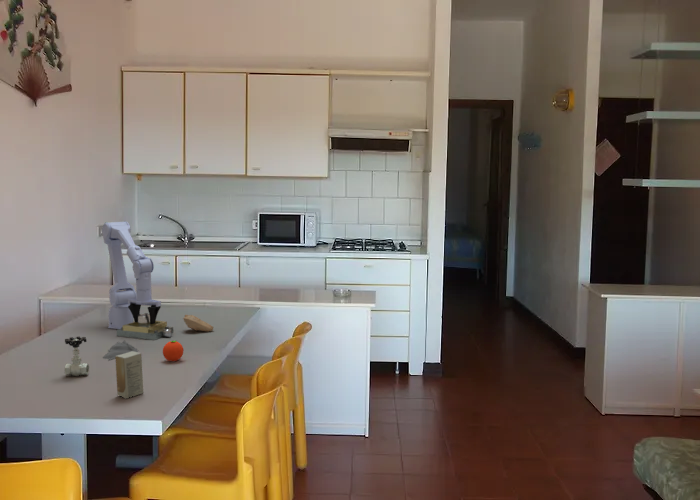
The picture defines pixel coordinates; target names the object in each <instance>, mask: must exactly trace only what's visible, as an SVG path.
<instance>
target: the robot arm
mask: <svg viewBox="0 0 700 500" xmlns="http://www.w3.org/2000/svg"><path fill="white" fill-rule="evenodd" d="M131 230H132V229H131V226H130V223H129V222H128V221H126V220H124V221H112V222H111V221H110V222H107V221H106V222H104V223H103V224H102V228H101V233H102V238H103V242H104V244H106V245H107V249H108V255H109V260H110V266H111V269H112V276H113V281H114V284H113V285H112V286H111V287H110V289H109V291H108V292H109V303H110V305H111V307H110V308H109V310H108V326H107V328H108V329H115V330H117V329H120V328H121V327H123V325H125V324H129V323H132V322H135V323H137V322H138V315H140V314H141V307H142V306H148V307H147V311H148V314H149V315H150V324H155V321H157V317H158V314H159V311H160V309H161V308H162V307H161V306H162V301H161V300H158V299H157V300H156V299H153V298H152V297H153V296H152V295H153V294H152V273H153V271H154V267H155V265H154V262H153V259H152V258H151V257H148V256H146V254H145V252H143V250H142V248H141V247H140V246H139V245H136V244H135V241H134V239H133V237H132V234H131ZM122 244H123V246H124V247H125V249H126V255H127V257H128V259H129V260H130V262H131V263H132V271H133V274H134V278H135V286H136V287H135V286H134V285H133V284H132V283H130V282H128V278H127V277H128V276H127V272H126V268H125V261H124V256H123V252H122Z"/></svg>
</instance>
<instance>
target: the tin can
mask: <svg viewBox="0 0 700 500" xmlns="http://www.w3.org/2000/svg"><path fill="white" fill-rule="evenodd" d="M138 326H140V327H149V326H150V315H149V312H145V313H140V315H138Z"/></svg>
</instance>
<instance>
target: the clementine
mask: <svg viewBox="0 0 700 500" xmlns="http://www.w3.org/2000/svg"><path fill="white" fill-rule="evenodd" d="M162 355H163V357H164V358H165V360H167V361H169V362H177V361H178V360H180V359H181V358H182V357H183V355H184V348H183V345H182V344H181V343H180V342H179V341H178V340H171V341H168V342H166V344H164V346H163V348H162Z"/></svg>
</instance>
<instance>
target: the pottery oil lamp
mask: <svg viewBox="0 0 700 500" xmlns="http://www.w3.org/2000/svg"><path fill="white" fill-rule="evenodd" d="M182 320H183V321H184V323H185V325H186V327H187V328H189V329H192V330H195V331H197V332H198V331H201V332H209V331H210V332H212V331H213V330H214V326H212V325H211V324H210V323H208V322H207V321H204V320H202V319H201V318H199V317H197V316H196V315H193V314H185V315H184V317H183V318H182Z"/></svg>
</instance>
